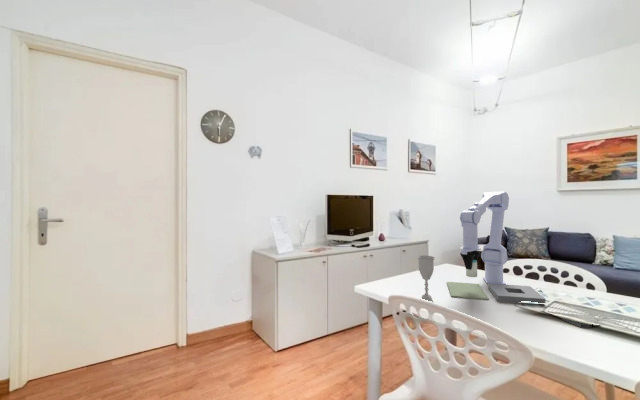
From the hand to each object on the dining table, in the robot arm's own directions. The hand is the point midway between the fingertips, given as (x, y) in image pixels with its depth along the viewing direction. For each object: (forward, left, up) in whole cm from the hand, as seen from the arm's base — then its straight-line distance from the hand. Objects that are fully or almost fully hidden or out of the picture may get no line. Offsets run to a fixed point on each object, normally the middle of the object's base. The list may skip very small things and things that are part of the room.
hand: (470, 268), depth 128 cm
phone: (+21, +27, -11) cm, 36 cm away
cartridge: (0, 0, -3) cm, 3 cm away
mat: (0, -2, -10) cm, 11 cm away
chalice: (+17, -19, -11) cm, 27 cm away
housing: (+3, +16, -10) cm, 19 cm away
